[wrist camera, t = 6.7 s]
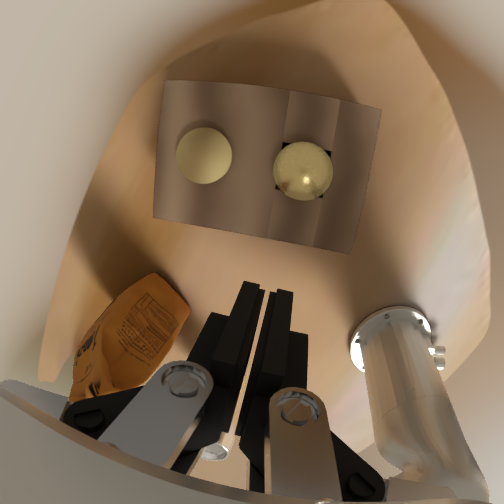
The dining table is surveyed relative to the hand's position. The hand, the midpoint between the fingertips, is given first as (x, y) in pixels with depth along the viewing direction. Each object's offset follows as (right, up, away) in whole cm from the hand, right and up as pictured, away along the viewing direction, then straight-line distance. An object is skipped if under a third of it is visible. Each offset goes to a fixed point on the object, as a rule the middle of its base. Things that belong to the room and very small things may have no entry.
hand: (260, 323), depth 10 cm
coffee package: (-15, -6, +35) cm, 39 cm away
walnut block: (+2, +13, +24) cm, 28 cm away
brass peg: (+5, +12, +23) cm, 26 cm away
